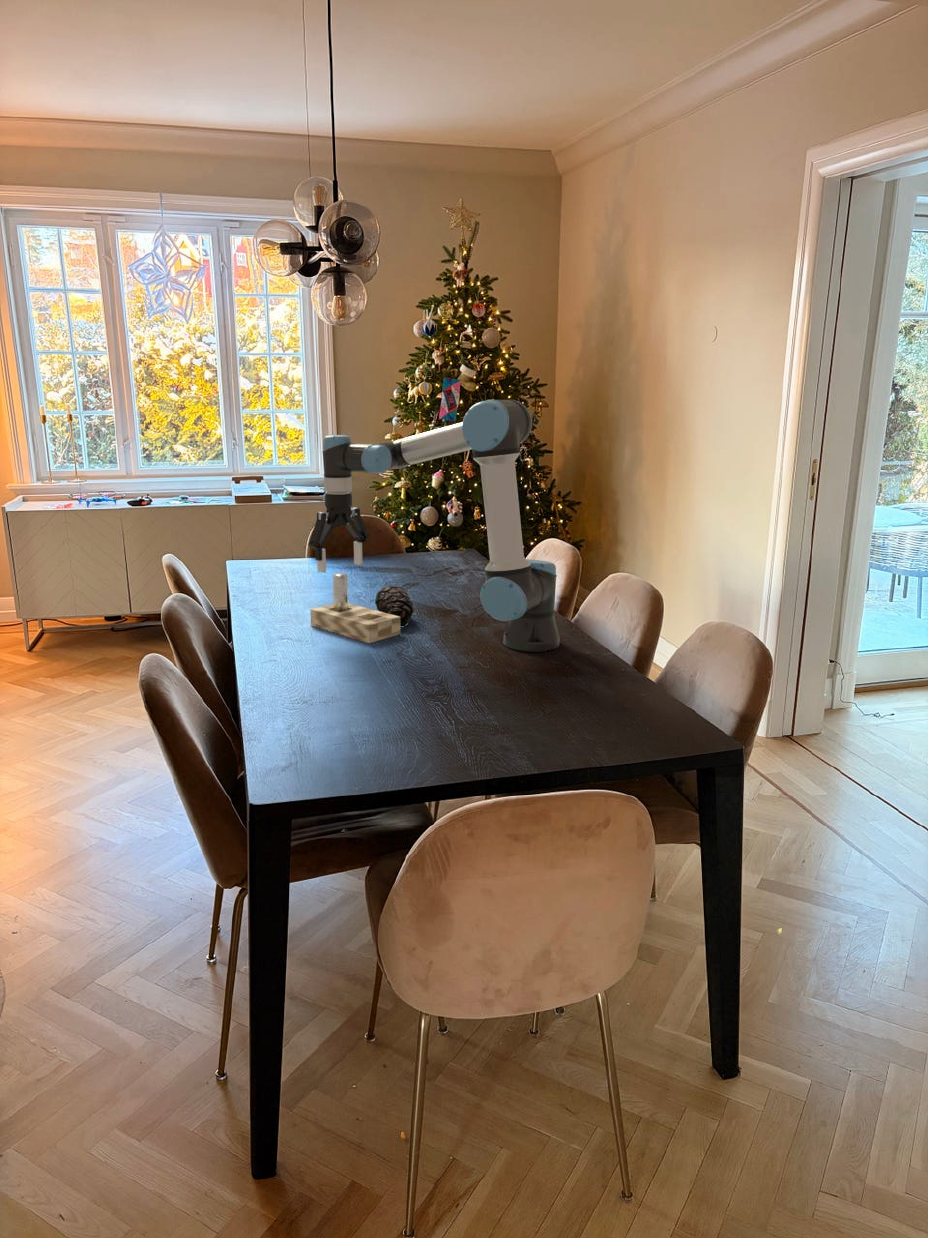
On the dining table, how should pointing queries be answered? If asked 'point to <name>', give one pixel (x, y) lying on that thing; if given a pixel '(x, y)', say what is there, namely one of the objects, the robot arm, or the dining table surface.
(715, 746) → the dining table surface
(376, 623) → the hole block
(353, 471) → the robot arm
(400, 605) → the pine cone
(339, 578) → the steel pin
